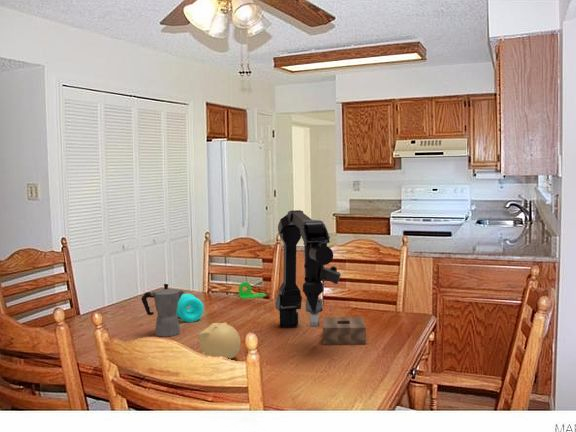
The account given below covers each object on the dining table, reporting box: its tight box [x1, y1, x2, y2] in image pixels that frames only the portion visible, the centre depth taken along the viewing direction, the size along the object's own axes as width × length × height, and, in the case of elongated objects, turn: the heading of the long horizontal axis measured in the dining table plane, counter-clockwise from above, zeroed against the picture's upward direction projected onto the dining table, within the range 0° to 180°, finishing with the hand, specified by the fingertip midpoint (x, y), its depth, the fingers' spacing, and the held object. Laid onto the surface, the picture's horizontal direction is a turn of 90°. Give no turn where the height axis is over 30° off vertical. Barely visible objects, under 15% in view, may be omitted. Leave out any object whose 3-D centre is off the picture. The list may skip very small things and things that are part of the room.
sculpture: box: [198, 322, 241, 360], centre depth 169 cm, size 12×12×11 cm
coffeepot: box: [141, 283, 185, 338], centre depth 198 cm, size 15×9×18 cm, turn 116°
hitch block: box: [322, 316, 367, 345], centre depth 187 cm, size 14×14×6 cm
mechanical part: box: [238, 281, 267, 300], centre depth 255 cm, size 12×6×8 cm, turn 108°
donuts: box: [176, 293, 205, 323], centre depth 217 cm, size 10×10×10 cm
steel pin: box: [305, 297, 324, 328], centre depth 176 cm, size 5×5×8 cm
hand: (314, 308), depth 176 cm, fingers closed on steel pin, 5 cm apart
